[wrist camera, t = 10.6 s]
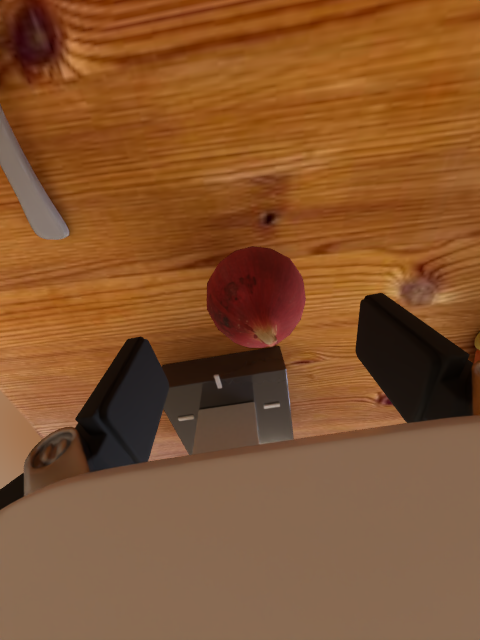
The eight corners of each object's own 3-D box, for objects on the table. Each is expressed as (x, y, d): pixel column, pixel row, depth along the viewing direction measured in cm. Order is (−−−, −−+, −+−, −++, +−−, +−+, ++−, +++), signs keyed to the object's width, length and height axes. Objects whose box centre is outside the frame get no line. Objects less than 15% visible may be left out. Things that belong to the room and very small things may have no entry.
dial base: (159, 360, 21) (148, 386, 18) (278, 340, 20) (286, 365, 17) (197, 437, 27) (194, 465, 25) (288, 425, 27) (295, 452, 24)
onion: (210, 307, 18) (197, 383, 11) (212, 231, 15) (196, 272, 8) (282, 311, 19) (311, 387, 12) (297, 238, 16) (348, 283, 9)
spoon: (-30, -89, 9) (-91, -145, 7) (88, 233, 16) (71, 242, 14) (-111, -92, 9) (-190, -150, 7) (44, 233, 16) (22, 242, 14)
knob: (203, 421, 21) (196, 479, 17) (198, 409, 20) (189, 467, 16) (257, 414, 20) (263, 471, 16) (254, 401, 20) (260, 458, 16)
